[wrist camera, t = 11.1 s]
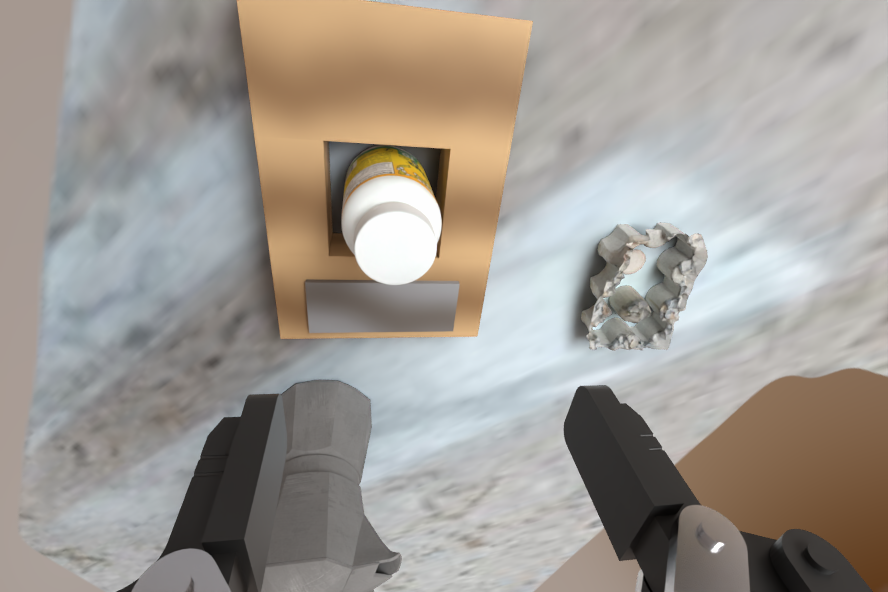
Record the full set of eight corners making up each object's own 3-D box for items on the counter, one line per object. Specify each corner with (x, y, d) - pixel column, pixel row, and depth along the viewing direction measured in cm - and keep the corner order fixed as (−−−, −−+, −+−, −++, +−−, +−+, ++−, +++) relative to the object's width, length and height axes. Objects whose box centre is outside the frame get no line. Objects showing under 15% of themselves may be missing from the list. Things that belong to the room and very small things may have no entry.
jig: (252, -12, 22) (232, -16, 19) (513, 20, 25) (535, 21, 21) (288, 310, 33) (279, 342, 30) (468, 309, 35) (478, 339, 32)
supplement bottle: (330, 161, 27) (317, 221, 19) (409, 129, 27) (428, 177, 19) (366, 233, 30) (367, 311, 22) (438, 205, 30) (464, 274, 22)
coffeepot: (368, 353, 36) (368, 591, 21) (409, 421, 41) (433, 650, 27) (203, 415, 37) (92, 683, 22) (263, 473, 42) (207, 722, 28)
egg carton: (601, 217, 33) (628, 241, 29) (690, 219, 34) (725, 241, 31) (569, 330, 38) (588, 360, 35) (646, 328, 40) (672, 357, 36)
